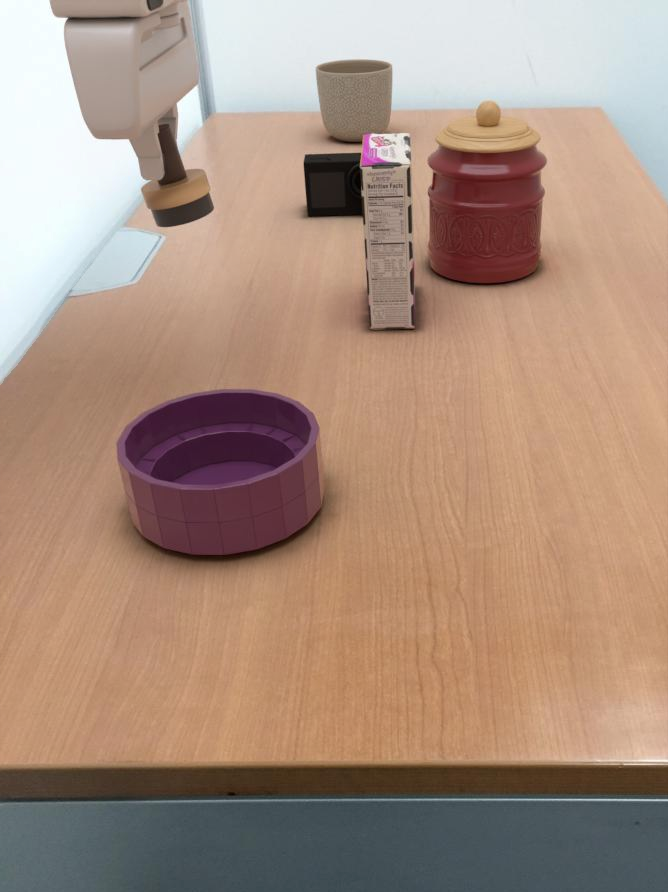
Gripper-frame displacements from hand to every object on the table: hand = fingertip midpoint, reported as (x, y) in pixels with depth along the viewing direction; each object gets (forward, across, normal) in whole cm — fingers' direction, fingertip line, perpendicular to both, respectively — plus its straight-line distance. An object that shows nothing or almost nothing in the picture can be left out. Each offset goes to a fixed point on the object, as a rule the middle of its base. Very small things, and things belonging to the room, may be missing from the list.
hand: (161, 171), depth 77 cm
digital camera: (+19, -50, +9) cm, 54 cm away
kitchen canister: (+19, -30, +27) cm, 44 cm away
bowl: (+19, +20, +7) cm, 29 cm away
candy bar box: (+19, -17, +17) cm, 31 cm away
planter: (+19, -90, +7) cm, 92 cm away
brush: (+4, 0, +1) cm, 4 cm away
